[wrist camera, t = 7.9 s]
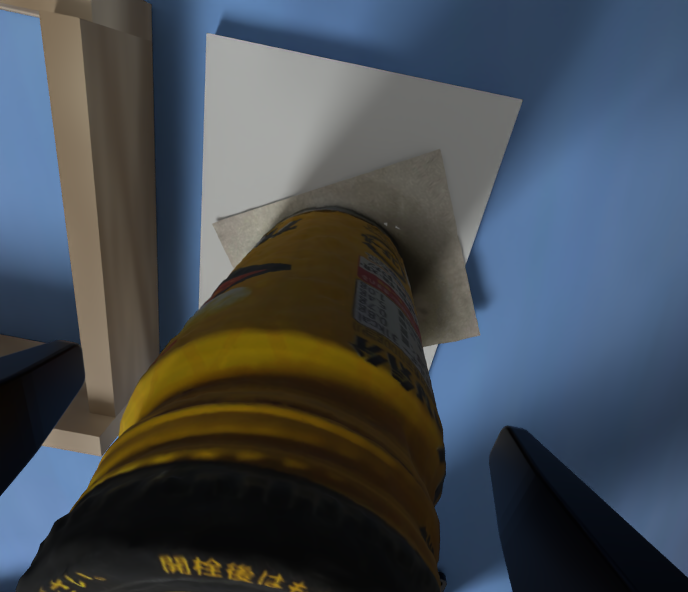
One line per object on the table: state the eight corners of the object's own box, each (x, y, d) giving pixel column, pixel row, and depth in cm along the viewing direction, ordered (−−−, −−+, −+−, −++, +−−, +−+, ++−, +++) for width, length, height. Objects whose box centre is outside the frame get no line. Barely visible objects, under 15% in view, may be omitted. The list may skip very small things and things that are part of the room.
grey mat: (516, 100, 13) (522, 99, 12) (407, 420, 19) (408, 429, 18) (213, 36, 12) (206, 32, 12) (201, 381, 19) (196, 389, 18)
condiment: (213, 222, 15) (-244, 543, 4) (439, 148, 13) (786, 332, 2) (285, 376, 17) (144, 814, 7) (478, 331, 16) (712, 808, 5)
